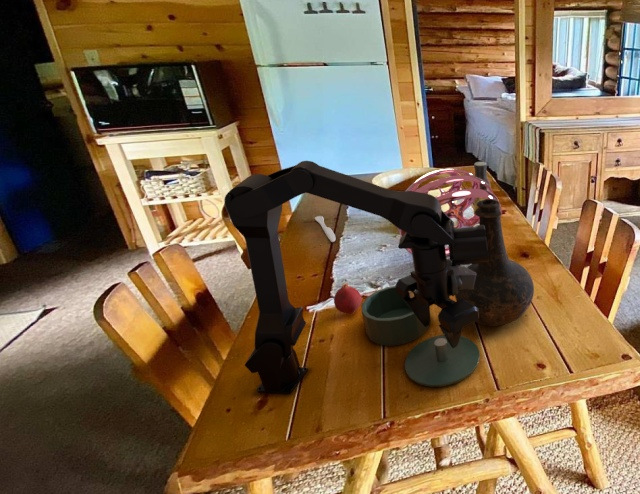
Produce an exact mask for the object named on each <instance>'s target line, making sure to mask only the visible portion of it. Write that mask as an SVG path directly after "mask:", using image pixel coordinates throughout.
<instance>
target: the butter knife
mask: <svg viewBox="0 0 640 494" xmlns="http://www.w3.org/2000/svg"><path fill="white" fill-rule="evenodd" d="M313 220H315V221H316V222H317V223H318V224H319V225H320V226H321V228H322V230H323V232H324V234H325V235H326V237H327V238H328V240H329V241H330V243H334V242H336V239H337V238H336V234H335V233H334V231H333V230H332V228H331V227H327V225H326V224H325V220H324V217H323V216H322V215H317V216H315V217H314V219H313Z"/></svg>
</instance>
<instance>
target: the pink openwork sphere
mask: <svg viewBox="0 0 640 494" xmlns="http://www.w3.org/2000/svg"><path fill="white" fill-rule="evenodd" d="M442 175H448V176H445V177H441V178H438V179H435V180H433V181H429V182H428V183H426V184H424V185H422V186H420V185H421V184H422V183H423V182H425V181H428V180H429V179H432V178H435V177H438V176H442ZM463 182H470V183H471V188H462V187H463V186H462V185H463ZM479 183H480V184H482V185H484V186H485V187H486V189H487V191H486V190H482V189H480V184H479ZM450 184H452V185H451V186H450V188H449V189H448V190H444V189H443V188H441V187H442V186H445V185H450ZM419 186H420V187H419ZM437 188H438V190H439V192H440V194H439V195H437V196H435V197H436V198H437V199H438V201H439V203H440V205H441V207H442V206H444V205H446V204H448V209H447V210H445V211H443V212H444V213H445V214H446V215H447V216H448V217H449V218H450V219H455V220H456V221H457V225H454V228H461V227H473V226H476V225H478V224H479V216H477V215H474V214H473V215H472V216H470V217H469V218H466V217H465V215H464V212H465V211H466V210H467V209H468V208H469V207H471V206H472V205H473V202H474V201H475V200H476V198H477V197H478V198H486V199H494V200H497V201H499V202H500V212H501V213H502V214H503V208H502V207H503V206H502V204H501V201H500V200H499V198H498V197H497V195H496V194H494V191H493V189H492V186H491V187H490V186H489V185H488V184H487V183H486V182H485V181H483V180H482V179H480V178H477V177H475V174H473V173H471V172H469V171H467V170H464V169H458V168H445V169H438V170H437V169H436V170H433V171H430V172H428V173H426V174H423V175H422V176H421V177H419V178H418V179H416V180H415V182H413V183H412V184H411V185H409V186H408V188H407V189H406V190H405V191H414V192H420V193H425V194H429V192H431V191H433V190H434V189H437ZM459 200H462V201H461V202H459V203H455V202H456V201H459ZM501 218H502V215H501V216H500V219H501ZM397 230H398V232H399V239H400V238H401V237H402V236H403V235H404V234H405V233H406V232H405V231H402V230H400V229H398V228H397ZM445 250H446V257H447V256H450V255H449V246H447V247H445ZM405 251H406V252H408V253H409V254H410V255H412V251H411V248H407V249H405Z"/></svg>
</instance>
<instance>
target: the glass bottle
mask: <svg viewBox="0 0 640 494" xmlns="http://www.w3.org/2000/svg"><path fill="white" fill-rule="evenodd" d="M499 201H500V200H499ZM499 201H497V200H494V199H485V200H481V201H479V202H478V208H477V209H476V210H475V215H477V216H479V222H478V224H479V225H484V226H485V235H486V239H487V246H488V257H489V263H478V264H469V265H468V266H466V267H467V268H469V269H470V270H472V271H474V272H476V273H477V275H476V279H475V284H474V289H471V290H470V289H463V290H458V294H457V295H455V296H454V297H455V302H457V301H459V300H461V299H464V300H466V301H468V302H469V303H471V304H472V305H474V306H476V307H477V308H478V310H479V319H478V320H477V321H475V323H477V324H480V325H483V326H489V327H496V326H497V327H498V326H503V325H504V326H505V325H507V324H510V323H512V322H514V321H516V320H518V319H519V318H521V317H522V316H523V315H524V314H525V312H527V310H528V309H529V307H530V305H531V303H532V302H533V298H534V295H535V285H534V281H533V278H532V276H531V274H530V273H529V271H528V270H527V269H526V268H525V267H524V266H523V265H521V264H520V263H519V262H517V261H514V260H512V259H510V258H509V256H508V253H507V249H506V245H505V240H504V235H503V227H502V220H501V219H500V216H501V217H502V215H503V212H502V213H501V212H500V204H501V201H500V202H499Z"/></svg>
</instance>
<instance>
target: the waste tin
mask: <svg viewBox="0 0 640 494" xmlns="http://www.w3.org/2000/svg"><path fill="white" fill-rule="evenodd" d="M361 315H362V319H363V322H364V328H365V333H366V335H367V337H368V339H369V340H370V341H371V342H373V343H374V344H377V345H381V346H385V347H386V346H387V347H389V346H390V347H391V346H401V345H404V344H408V343H411V342H413V341H415V340H417V339H419V338H420V337H422V336H423V335H424V334H425V333H426V332H427V331H428V329H429V328H430V325H431V324H430V325H429V326H427V327H425V326H424V325H423V324H422V323H421V322H420V320H419V319H418V318H417V316H416V315H415V314H414V313H413V311H412V310H411V309H410V308H409V307H408V305H407V304H406V303H405V302H404V301H403V300H402V299H401V296H400V295H399V294H397V292H396V286H395V285H392V286H391V285H390V286H387V287H384V288H381V289H379V290H376V291H374V292H373V293H371V294H370V295H368V296H367V297H366V298H365V299H364V300H363V302H361Z"/></svg>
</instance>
